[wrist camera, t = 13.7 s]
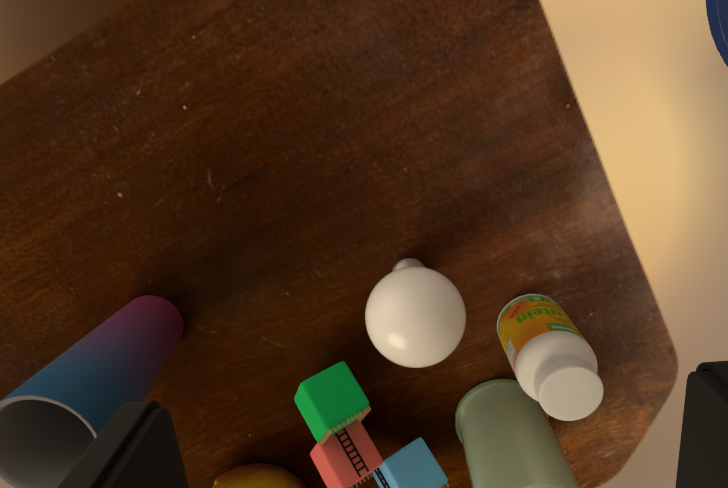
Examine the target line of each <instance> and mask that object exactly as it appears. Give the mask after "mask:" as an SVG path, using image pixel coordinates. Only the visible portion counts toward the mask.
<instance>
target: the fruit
mask: <svg viewBox="0 0 728 488" xmlns="http://www.w3.org/2000/svg"><path fill="white" fill-rule="evenodd" d="M212 488H307V487H306V485H305V484H304V483H303V481H302V480H301V479H300V478H298V477H296V475H294V474H292V473H291V472H289V471H288V470H286V469H284V468H282V467H280V466H274V465H273V464H272V463H271V464H266V463H252V464H248V465H244V466H240V465H239V466H238V467H237V466H236V468H233V469H231V470H229V471H226V472H225V473H223V474H221V475H219V476H218V477H217V478H215V480H214V485H213V487H212Z"/></svg>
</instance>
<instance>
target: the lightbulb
mask: <svg viewBox="0 0 728 488" xmlns="http://www.w3.org/2000/svg"><path fill="white" fill-rule="evenodd" d="M365 323H366V328H367V332H368V335H369V337H370V339H371V341H372V343H373V345H374V346H375V347H376V349H377V350H378V351H379V352H380V353H381V354H382V355H383V356H384V357H386V358H387V359H388V360H390V361H392V362H394V363H396V364H398V365H401V366H405V367H410V368H422V367H428V366H432V365H434V364H437V363H439V362H441V361H442V360H444V359H445V358H447V357H448V356H449V355H450V354H451V353H452V352H453V351H454V350H455V349H456V347H457V346H458V344H459V343H460V341H461V339H462V336H463V333H464V330H465V325H466V310H465V305H464V302H463V299H462V297H461V295H460V293H459V291H458V290H457V288H456V287H455V285H454V284H453V283H452V282H451V281H450V280H449V279H448V278H446V277H445V276H444V275H442V274H441V273H439V272H437V271H435V270H432V269H429V268H425V266H424V265H423V264H422V263H421V262H420V261H419V260H417V259H413V258H406V259H403V260H401V261H399V262H398V263H397V264H396V265H395V266H394V268H393V270H392V272H391V273H389V274H388V275H386V276H385V277H384V278H382V279H381V280H380V281H379V282H378V283H377V285H376V286H375V287H374V289H373V290H372V292H371V294H370V296H369V298H368V301H367V305H366V311H365Z"/></svg>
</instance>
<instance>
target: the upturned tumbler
mask: <svg viewBox="0 0 728 488" xmlns="http://www.w3.org/2000/svg"><path fill="white" fill-rule="evenodd" d="M455 428H456V432H457V435H458V437H459V439H460V441H461V442H462V444H463V448H464V452H465V457H466V461H467V466H468V470H469V475H470V480H471V484H472V488H581V486H580V484H579V482H578V480H577V478H576V476H575V474H574V471H573V469H572V467H571V465H570V463H569V461H568V459H567V457H566V455H565V453H564V451H563V449H562V447H561V444H560V442H559V440H558V438H557V436H556V434H555V432H554V430H553V428H552V426H551V424H550V422H549V415H548V413H546V412H545V410H544V409H543V408H542V406H541V404H540V403H539V401H536V400H535V399H533V398H531V397H530V396H529V395H528V394H527V393H526V392H525V391H524V390H523V389H522V387H521V386H520V384H519V382H518V381H516V380H512V379H495V380H490V381H487V382H484V383H481V384H479V385H477V386H475V387H474V388H472V389H471V390H470V391H469V392H467V393H466V394H465V395H464V397H463V398H462V399H461V401H460V402H459V404H458V406H457V409H456V412H455Z"/></svg>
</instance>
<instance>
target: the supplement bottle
mask: <svg viewBox="0 0 728 488" xmlns="http://www.w3.org/2000/svg"><path fill="white" fill-rule="evenodd" d="M497 333H498V336H499V339H500V341H501V344H502V346H503V348H504V351H505V353H506V355H507V357H508V360H509V362H510V364H511V366H512V369H513V371H514V373H515V375H516V378H517V380H518V382H519V384H520V386H521V387H522V389H523V390H524V391H525V392H526V393H527V394H528V395H529V396H530V397H531V398H533V399H535V400H536V401H539V403H540V404H541V406H542V408H543V409H544V410H545V412H546V413H548V414H549V415H550V416H552V417H554V418H556V419H559V420H564V421H573V420H578V419H581V418H584V417H586V416H588V415H589V414H591V413H592V412H593V411H595V410H596V408H597V407H598V406H599V405H600V403H601V401H602V398H603V392H604V390H603V384H602V381H601V379H600V378H599V376H598V374H597V370H598V365H597V359H596V356H595V354H594V352H593V350H592V348H591V347H590V345H589V344H588V342H587V341H586V340H585V338H584V337H583V336H582V335H581V333H580V332H579V331H578V329H577V328H576V327H575V325H574V324H573V323H572V321H571V320H570V319H569V317H568V316H567V315H566V313H565V312H564V310H563V309H562V308H561V307H560V306H559V304H558V303H557V302H555V301H554V300H553V299H551V298H549V297H547V296H544V295H541V294H526V295H522V296H519V297H517V298H515V299H513V300H512V301H510V302H509V303H508V304H507V305H506V306H505V307H504V308H503V309H502V311H501V313H500V315H499V317H498V321H497Z"/></svg>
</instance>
